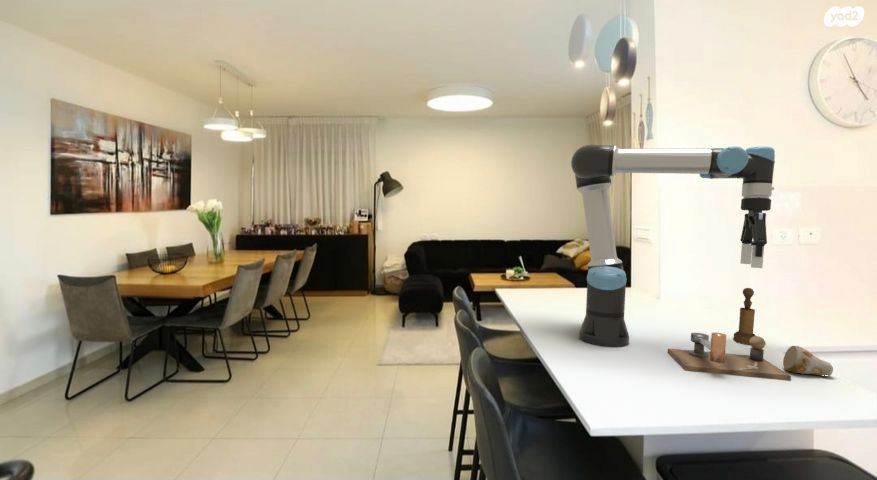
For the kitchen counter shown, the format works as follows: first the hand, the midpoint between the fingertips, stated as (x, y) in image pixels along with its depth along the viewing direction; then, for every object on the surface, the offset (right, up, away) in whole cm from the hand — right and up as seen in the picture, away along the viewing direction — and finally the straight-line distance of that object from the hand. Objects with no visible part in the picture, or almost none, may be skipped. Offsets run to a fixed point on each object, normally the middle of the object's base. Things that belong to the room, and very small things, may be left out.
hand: (750, 265), depth 136 cm
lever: (-25, -23, -18) cm, 38 cm away
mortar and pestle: (+4, -26, +8) cm, 27 cm away
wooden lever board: (-19, -26, -17) cm, 37 cm away
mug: (-1, -27, -22) cm, 35 cm away
